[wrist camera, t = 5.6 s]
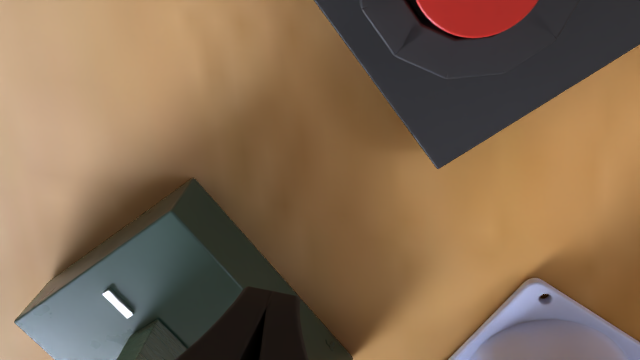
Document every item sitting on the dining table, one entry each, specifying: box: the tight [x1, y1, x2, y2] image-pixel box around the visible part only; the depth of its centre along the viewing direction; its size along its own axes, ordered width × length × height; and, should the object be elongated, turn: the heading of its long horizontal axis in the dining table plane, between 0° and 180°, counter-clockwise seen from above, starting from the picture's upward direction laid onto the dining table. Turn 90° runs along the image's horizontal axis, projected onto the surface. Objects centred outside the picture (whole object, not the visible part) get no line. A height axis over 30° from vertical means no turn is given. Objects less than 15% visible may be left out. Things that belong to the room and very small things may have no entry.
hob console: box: [15, 178, 353, 360], centre depth 26 cm, size 11×9×3 cm
